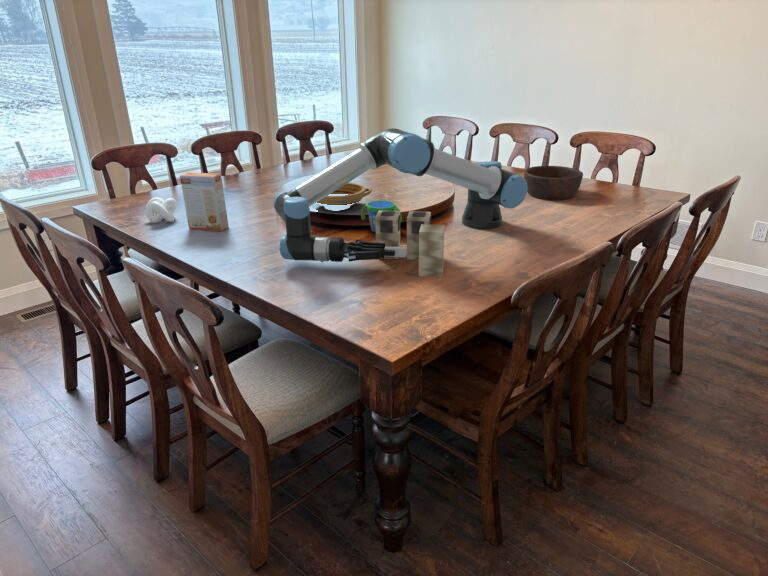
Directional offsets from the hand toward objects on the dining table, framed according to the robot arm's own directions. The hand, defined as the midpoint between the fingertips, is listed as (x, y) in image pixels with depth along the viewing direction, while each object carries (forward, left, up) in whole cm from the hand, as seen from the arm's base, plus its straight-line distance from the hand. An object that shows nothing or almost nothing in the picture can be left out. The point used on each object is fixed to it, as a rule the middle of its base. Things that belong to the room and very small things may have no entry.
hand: (406, 252), depth 168 cm
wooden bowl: (-55, -94, -7) cm, 109 cm away
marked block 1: (-3, -13, -6) cm, 15 cm away
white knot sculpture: (+101, -41, -7) cm, 110 cm away
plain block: (-8, 0, -6) cm, 10 cm away
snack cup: (+13, -37, -6) cm, 40 cm away
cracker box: (+79, -33, -6) cm, 86 cm away
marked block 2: (+7, -13, -6) cm, 16 cm away
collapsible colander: (+36, -65, -6) cm, 75 cm away
